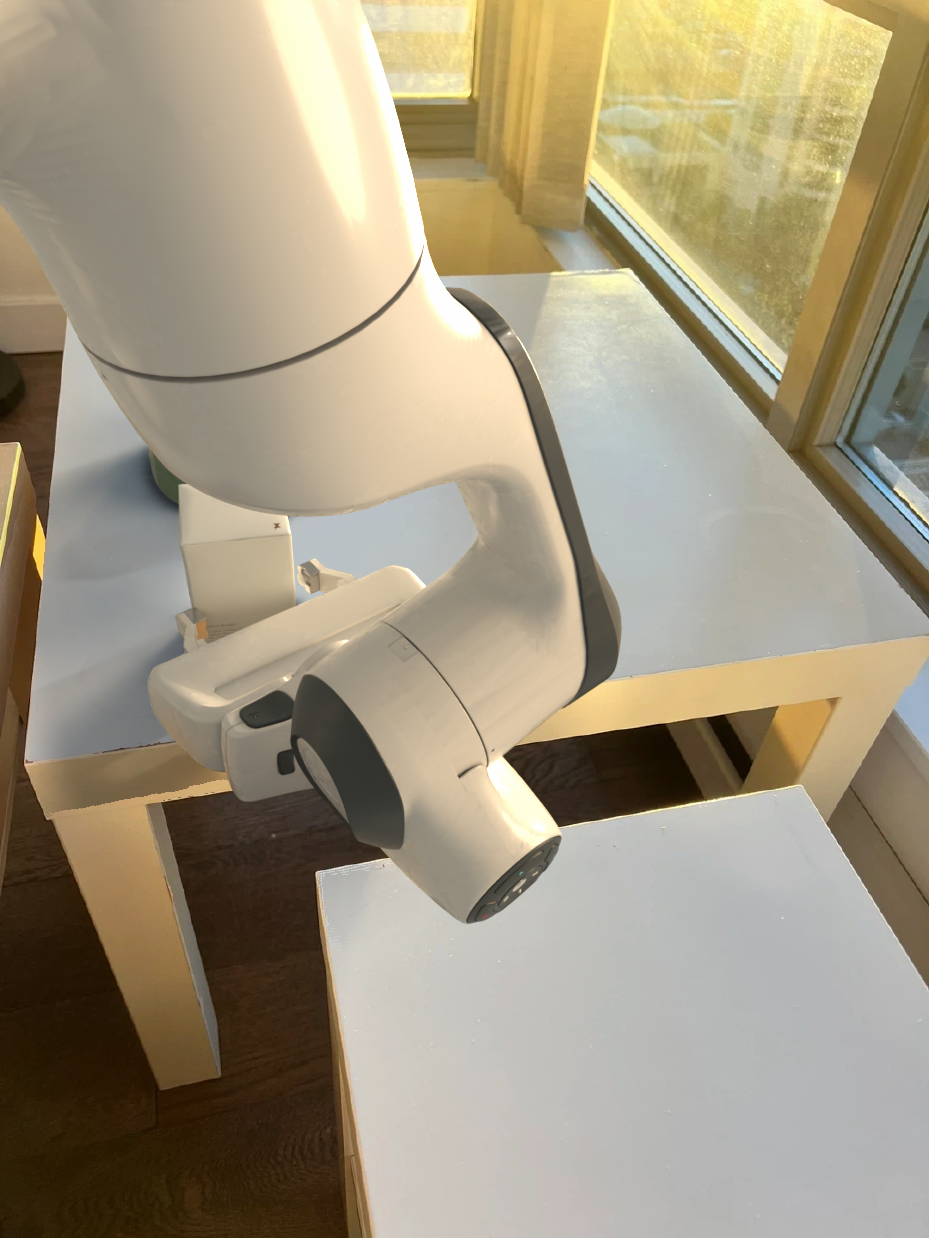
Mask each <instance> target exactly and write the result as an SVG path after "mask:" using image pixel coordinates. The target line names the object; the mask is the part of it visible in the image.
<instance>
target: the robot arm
mask: <svg viewBox="0 0 929 1238" xmlns="http://www.w3.org/2000/svg"><path fill="white" fill-rule="evenodd" d="M0 206H1V207H2V208H3V210H4V211H5V213H7V215H8V216H9V218H10V219H11V220H12V221H13V223H14V224H15V225H16V227H17V229H19V231H20V233H21V234H22V236H23V238H24V239H25V241H26V242H27V244H28V245H29V247H30V249H31V251H32V253H33V254H34V256H35V257H36V260H37V262H38V263H39V265H40V267H41V268H42V270H43V272H44V274H45V276H46V278H47V280H48V282H49V284H50V286H51V288H52V290H53V291H54V294H55V295H56V298H57V299H58V301H59V303H60V306H61V307H62V309H63V311H64V313H65V315H66V317H67V319H68V320H69V323H70V325H71V327H72V328H73V330H74V332H75V333H76V335H77V338H78V340H79V341H80V343H81V345H82V348H83V349H84V351H85V352H86V355H87V357H88V358H89V360H90V361H91V363H92V365H93V367H94V369H95V370H96V372H97V374H98V376H99V377H100V379H101V381H102V382H103V385H104V386H105V387H106V389H107V390H108V392H109V393H110V395H111V397H113V400H114V401H115V403H116V404H117V406H118V407H119V409H120V411H121V412H122V413H123V415H124V416H125V417H126V419H127V421H128V422H129V423H130V425H131V426H132V427H133V429H134V430H135V432H136V433H137V434H138V436H139V437H140V439H142V441H143V442H144V443H145V445H146V447H147V446H148V447H149V448H150V450H151V451H152V452H153V453H154V455H155V456H156V457H157V458H158V460H159V461H160V462H161V463H162V464H163V465H164V466H165V467H166V468H167V469H168V470H169V471H170V472H171V473H172V474H174V475H175V476H176V477H178V478H179V479H180V480H182V481H183V482H185V483H187V484H188V485H190V486H192V487H194V488H195V489H197V490H199V491H201V492H203V493H204V494H206V495H209V496H211V497H213V498H215V499H218V500H220V501H223V502H226V503H228V504H231V505H234V506H238V507H241V508H244V509H248V510H252V511H257V512H262V513H267V514H274V515H283V516H287V517H297V518H298V517H299V518H300V517H302V518H305V517H306V518H309V517H310V518H311V517H312V518H313V517H315V518H316V517H330V516H339V515H340V516H341V515H346V514H352V513H356V512H361V511H365V510H367V509H368V510H369V509H372V508H375V507H377V506H381V505H382V504H385V503H387V502H388V503H389V502H391V501H393V500H396V499H400V498H401V497H404V496H407V495H410V494H413V493H416V492H420V491H422V490H426V489H430V488H433V487H437V486H442V485H446V484H450V483H455V484H456V487H457V489H458V491H459V493H460V496H461V498H462V500H463V502H464V504H465V507H466V509H467V511H468V514H469V515H470V518H471V520H472V523H473V525H474V527H475V528H476V531H477V537H476V538H475V540H474V542H473V543H472V545H471V546H470V547H469V549H468V550H467V551H466V553H464V555H463V556H462V557H460V558H459V560H458V561H456V563H455V564H453V565H452V567H450V568H449V569H448V570H446V572H444V573H443V574H441V575H440V576H439V577H438V578H436V579H435V580H433V581H432V582H430V583H428V585H426V584H425V583H423V582H422V580H421V579H420V578H419V577H418V576H417V575H416V573H414V572H413V571H412V570H410V569H409V568H408V567H404V566H400V565H388V566H384V567H383V568H381V569H378V570H376V571H373V572H371V573H369V574H367V575H365V576H362V577H359V578H357V577H356V576H355V575H354V574H353V573H348V572H343V571H340V570H335V569H331V568H326V567H325V566H324V565H323V564H322V563H321V562H320V561H319V560H317V559H316V558H312V559H310V560H308V561H305V562H303V563H300V564H298V565H296V571H297V572H298V573H297V575H296V577H297V578H296V579H297V582H298V583H299V585H300V586H301V587H302V588H305V591H306V592H307V593H308V594H309V595H313V594H315V593H317V592H322V594H320V595H318V596H316V597H313V598H311V599H309V600H306V601H304V602H302V603H300V604H298V605H297V604H296V606H295V607H292V608H290V609H288V610H285V611H283V612H281V613H278V614H276V615H274V616H271V617H269V618H267V619H264V620H262V621H260V622H257V623H255V624H253V625H250V626H248V627H246V628H243V629H241V630H239V631H236V632H234V633H232V634H229V635H227V636H225V637H222V638H220V639H218V640H216V641H213V642H211V643H209V644H207V643H206V641H205V639H207V638H209V633H208V630H207V629H206V628H207V620H206V618H205V617H204V615H203V614H202V613H199V610H198V608H196V607H195V608H192V607H191V608H189V609H187V610H185V611H182V612H179V613H176V614H175V621H176V627H177V631H178V633H179V634H180V635H181V637H182V638H183V646H182V647H183V652H184V653H182V654H181V655H178V656H176V657H174V658H171V659H169V660H167V661H164V662H161V663H160V664H157V665H155V666H154V667H153V668H151V672H150V673H149V676H148V679H147V692H148V697H149V701H150V705H151V709H152V711H153V714H154V716H155V718H156V719H157V720H158V722H159V723H160V725H161V726H162V727H163V729H164V730H165V732H166V733H167V734H168V735H169V736H170V737H171V738H172V739H173V741H174V742H175V743H176V744H177V745H178V746H179V747H180V748H181V749H182V750H183V751H184V752H185V753H187V755H188V756H190V757H191V758H192V760H194V761H195V762H196V763H197V764H199V765H201V767H204V768H206V769H208V770H210V771H213V772H219V773H225V775H226V778H227V781H228V783H229V787H230V789H231V791H232V792H233V794H234V796H235V797H236V798H237V799H238V800H240V801H242V802H245V803H251V802H252V803H253V802H257V801H261V800H265V799H270V798H273V797H277V796H282V795H286V794H291V793H296V792H301V791H306V790H312V789H314V790H315V791H316V793H318V794H319V796H320V797H321V798H322V799H323V800H324V802H325V803H326V804H327V806H329V808H331V810H332V811H333V812H334V813H335V815H337V817H338V818H339V819H340V820H341V822H342V823H343V824H344V825H345V827H346V828H347V829H348V830H349V831H350V833H351V834H352V835H353V836H354V838H355V839H356V841H357V842H358V843H359V842H360V843H363V844H366V845H369V846H372V847H376V848H380V849H381V850H382V852H383V853H384V854H385V855H386V856H387V857H388V858H389V859H390V860H391V861H392V862H393V864H394V865H395V866H396V867H397V868H398V869H399V870H400V871H401V872H402V873H403V874H404V875H405V876H406V877H407V878H408V879H409V880H410V881H411V882H412V884H414V885H416V887H418V888H419V889H420V890H421V891H422V892H423V893H424V894H425V895H426V896H427V897H429V899H430V900H432V901H433V902H434V903H435V904H436V905H437V906H439V907H440V908H441V909H442V910H444V911H445V912H446V913H447V914H448V915H450V916H451V917H453V918H454V919H455V920H456V921H458V922H460V923H461V924H465V925H471V924H475V923H481V922H484V921H487V920H489V919H491V918H492V917H493V916H495V915H497V914H498V913H500V912H503V910H505V909H506V908H507V907H508V906H510V905H511V904H512V903H514V902H515V901H516V900H517V899H518V898H520V896H522V895H523V894H524V893H525V892H526V891H527V890H528V889H530V887H531V886H533V884H534V883H536V882H537V881H538V879H539V877H540V876H541V875H543V873H544V872H546V871H547V869H548V868H549V867H550V866H551V864H552V862H553V861H554V859H555V858H556V856H557V854H558V852H559V848H560V845H561V842H562V840H563V839H562V838H563V835H562V834H563V833H562V831H561V829H560V828H559V826H558V824H557V822H556V821H555V820H554V818H553V816H552V815H551V813H550V812H549V811H548V809H547V808H546V807H545V806H544V804H543V803H542V801H540V799H539V798H538V797H537V796H536V794H535V793H534V791H532V789H531V788H530V787H529V785H528V784H527V783H526V782H525V780H524V779H523V778H522V777H521V775H519V774H518V772H517V771H516V770H515V768H513V766H511V765H510V763H509V762H508V761H507V760H506V758H505V757H504V756H505V754H507V753H508V752H510V750H512V749H513V748H514V747H516V746H517V745H518V744H519V743H520V742H522V741H523V740H524V739H526V738H527V737H528V736H529V735H530V734H531V733H533V732H534V731H536V729H539V727H540V726H541V725H543V724H544V723H545V722H546V721H548V720H549V719H550V718H552V717H553V716H554V715H555V714H557V713H558V712H559V711H560V710H563V709H565V708H566V707H568V706H570V705H572V704H573V703H575V702H576V701H578V700H580V699H581V698H582V697H584V696H585V695H587V694H588V693H590V692H591V691H593V690H594V689H595V688H597V687H599V686H600V685H601V684H603V683H604V682H606V681H607V680H609V678H611V676H612V675H613V674H614V672H615V671H616V668H617V665H618V660H619V655H620V651H621V650H620V649H621V643H622V631H623V630H622V626H623V625H622V614H621V609H620V605H619V602H618V600H617V597H616V595H615V592H614V591H613V588H612V586H611V585H610V582H609V580H608V579H607V577H606V574H605V572H604V571H603V569H602V567H601V565H600V564H599V562H598V560H597V558H596V556H595V554H594V552H593V549H592V547H591V544H590V540H589V536H588V533H587V529H586V525H585V522H584V519H583V516H582V513H581V512H582V511H581V509H580V506H579V502H578V499H577V495H576V492H575V487H574V484H573V482H572V478H571V477H572V476H571V474H570V470H569V468H568V464H567V461H566V457H565V453H564V450H563V447H562V443H561V439H560V437H559V434H558V431H557V427H556V424H555V421H554V418H553V414H552V412H551V408H550V406H549V403H548V399H547V397H546V394H545V391H544V389H543V386H542V383H541V381H540V379H539V376H538V373H537V371H536V369H535V367H534V364H533V362H532V360H531V358H530V356H529V354H528V352H527V350H526V348H525V346H524V345H523V343H522V342H521V340H520V339H519V337H518V335H517V334H516V333H515V331H514V330H513V328H512V327H511V326H510V324H509V322H507V321H506V319H505V318H504V317H503V315H502V314H501V313H500V312H498V311H497V309H495V308H494V307H493V306H492V305H491V304H490V303H488V302H487V301H485V299H483V298H482V297H480V296H479V295H477V294H476V293H473V292H472V291H469V290H468V289H465V288H462V287H451V286H444V285H443V283H442V281H441V280H440V278H439V275H438V273H437V271H436V269H435V267H434V264H433V262H432V258H431V256H430V253H429V252H430V251H429V249H428V245H427V239H426V236H425V235H426V234H425V231H424V223H423V219H422V215H421V211H420V206H419V200H418V197H417V190H416V187H415V181H414V177H413V173H412V168H411V165H410V161H409V157H408V154H407V150H406V146H405V142H404V138H403V134H402V130H401V126H400V121H399V118H398V115H397V111H396V107H395V104H394V100H393V97H392V94H391V91H390V87H389V84H388V81H387V78H386V74H385V71H384V68H383V64H382V61H381V58H380V55H379V50H378V48H377V45H376V41H375V39H374V36H373V33H372V31H371V27H370V25H369V22H368V19H367V17H366V14H365V11H364V8H363V5H362V1H361V0H0ZM148 447H147V448H148Z"/></svg>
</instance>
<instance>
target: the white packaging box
mask: <svg viewBox="0 0 929 1238" xmlns="http://www.w3.org/2000/svg"><path fill="white" fill-rule="evenodd" d="M178 487H179V504H178V546H179V551H180V554H181V557H182V558H181V559H182V563H183V569H184V573H185V579H186V585H187V591H188V596H189V601H190V607H191V609H192V608H195V607H196V608H198V610H199V613H202V614H203V615H204V617H205V618H206V620H207V628H206V629H207V630H208V633H209V638H207V639H205V641H206V643H207V644H209V643H211V642H213V641H216V640H218V639H220V638H222V637H225V636H227V635H229V634H232V633H234V632H236V631H239V630H241V629H243V628H246V627H248V626H250V625H253V624H255V623H257V622H260V621H262V620H264V619H267V618H269V617H271V616H274V615H276V614H278V613H281V612H283V611H285V610H288V609H290V608H292V607H295V606H297V594H296V580H295V569H294V568H295V567H294V553H293V538H292V532H291V527H290V521H289V518H288V517H289V516H283V515H274V514H267V513H262V512H257V511H252V510H248V509H244V508H241V507H238V506H234V505H231V504H228V503H226V502H223V501H220V500H218V499H215V498H213V497H211V496H209V495H206V494H204V493H203V492H201V491H199V490H197V489H195V488H194V487H192V486H190V485H188V484H180V485H178Z"/></svg>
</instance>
